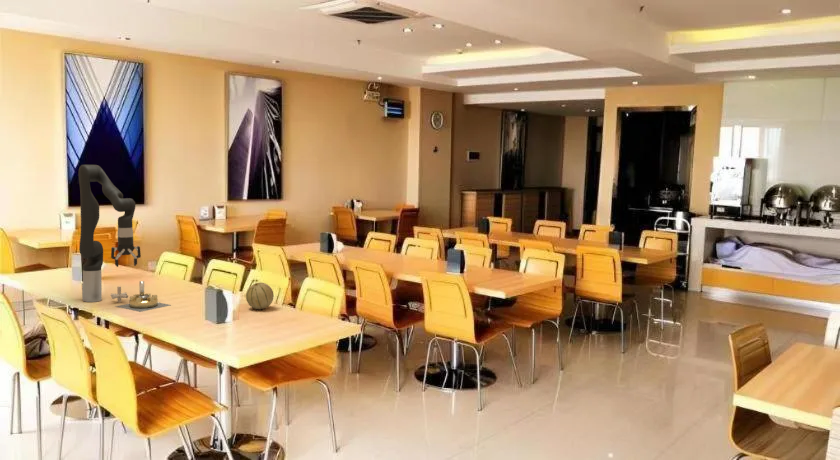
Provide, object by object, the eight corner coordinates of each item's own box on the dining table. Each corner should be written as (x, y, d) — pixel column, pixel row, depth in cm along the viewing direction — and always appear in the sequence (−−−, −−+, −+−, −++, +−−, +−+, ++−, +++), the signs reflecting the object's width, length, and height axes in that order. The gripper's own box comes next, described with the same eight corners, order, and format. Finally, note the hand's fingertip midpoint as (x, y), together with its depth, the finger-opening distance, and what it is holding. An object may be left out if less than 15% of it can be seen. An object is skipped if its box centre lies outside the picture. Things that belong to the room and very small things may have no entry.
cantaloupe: (278, 307, 364) (278, 281, 363) (265, 313, 350) (265, 285, 349) (254, 304, 368) (254, 278, 367) (240, 310, 354) (240, 283, 353)
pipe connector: (133, 303, 359) (133, 286, 358) (120, 307, 350) (120, 289, 349) (118, 302, 362) (118, 284, 361) (105, 305, 352) (104, 287, 351)
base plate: (114, 309, 345) (114, 305, 345) (146, 302, 363) (146, 299, 363) (140, 314, 336) (140, 311, 336) (171, 307, 353) (171, 304, 353)
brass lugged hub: (123, 305, 346) (123, 283, 345) (145, 301, 359) (145, 279, 357) (141, 309, 340) (141, 286, 339) (163, 304, 352) (163, 282, 351)
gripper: (111, 237, 339) (112, 268, 341) (140, 236, 346) (141, 266, 348) (110, 235, 346) (110, 266, 347) (139, 234, 353) (139, 264, 355)
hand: (126, 266), depth 348 cm, fingers open, 8 cm apart
